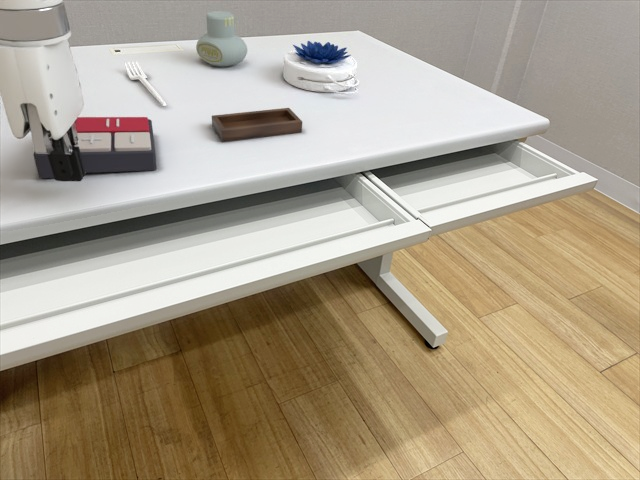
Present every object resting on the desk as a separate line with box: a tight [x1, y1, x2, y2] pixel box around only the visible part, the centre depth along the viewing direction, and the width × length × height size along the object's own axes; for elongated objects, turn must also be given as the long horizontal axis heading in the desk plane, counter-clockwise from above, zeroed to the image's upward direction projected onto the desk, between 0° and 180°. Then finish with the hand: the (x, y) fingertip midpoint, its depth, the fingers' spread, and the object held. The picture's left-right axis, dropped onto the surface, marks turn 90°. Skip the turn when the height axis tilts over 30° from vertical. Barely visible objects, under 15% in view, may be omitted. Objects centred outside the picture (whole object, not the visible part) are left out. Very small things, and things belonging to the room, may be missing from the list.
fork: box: [124, 60, 168, 107], centre depth 90 cm, size 3×20×2 cm, turn 33°
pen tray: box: [211, 107, 303, 143], centre depth 80 cm, size 14×6×2 cm, turn 115°
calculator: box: [33, 116, 157, 179], centre depth 68 cm, size 11×4×15 cm
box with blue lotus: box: [282, 40, 360, 95], centre depth 99 cm, size 7×16×20 cm
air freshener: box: [195, 10, 248, 68], centre depth 102 cm, size 11×8×10 cm
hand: (70, 177), depth 59 cm, fingers closed
